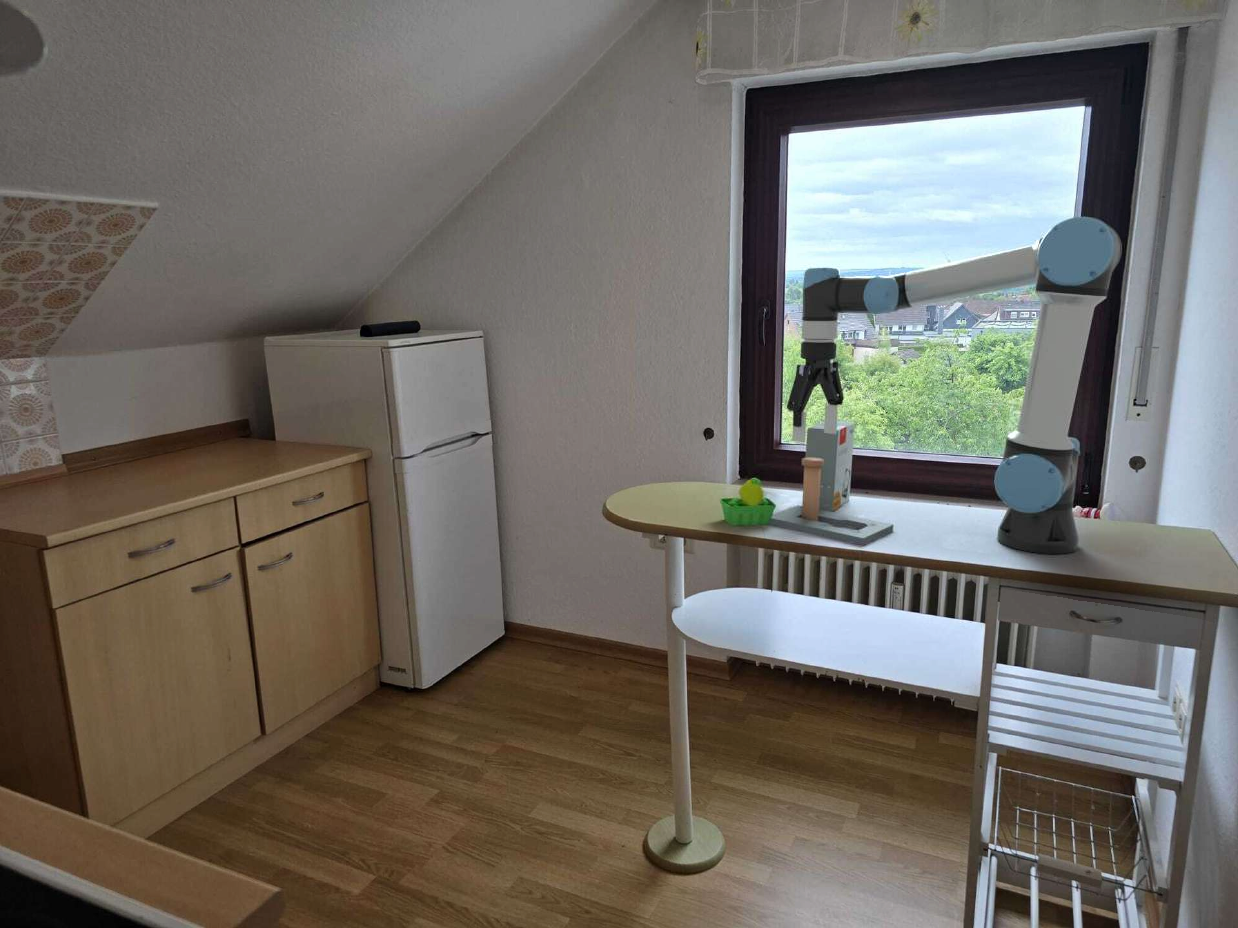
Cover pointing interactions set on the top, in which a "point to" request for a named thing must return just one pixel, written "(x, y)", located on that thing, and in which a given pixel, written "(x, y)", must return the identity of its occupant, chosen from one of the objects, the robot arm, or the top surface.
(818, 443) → the hard drive box
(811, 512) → the peg
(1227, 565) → the top surface
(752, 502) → the fruit basket
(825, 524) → the keyhole board
